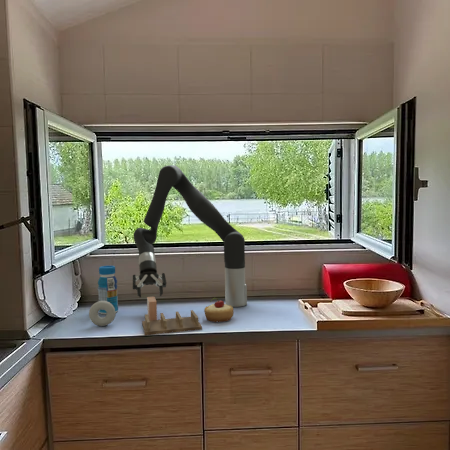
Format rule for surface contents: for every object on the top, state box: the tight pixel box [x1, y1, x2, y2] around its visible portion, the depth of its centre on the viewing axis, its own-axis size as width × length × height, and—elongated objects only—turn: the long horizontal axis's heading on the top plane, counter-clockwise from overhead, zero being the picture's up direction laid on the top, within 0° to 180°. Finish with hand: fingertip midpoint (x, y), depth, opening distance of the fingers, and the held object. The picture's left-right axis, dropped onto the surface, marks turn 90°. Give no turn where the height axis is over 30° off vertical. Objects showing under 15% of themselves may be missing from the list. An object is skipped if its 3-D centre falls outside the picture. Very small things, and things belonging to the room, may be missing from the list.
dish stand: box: [141, 309, 203, 336], centre depth 157 cm, size 21×14×4 cm, turn 105°
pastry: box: [203, 297, 234, 323], centre depth 165 cm, size 12×12×9 cm
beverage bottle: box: [97, 265, 119, 315], centre depth 179 cm, size 8×8×20 cm
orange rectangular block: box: [146, 296, 158, 320], centre depth 169 cm, size 3×9×8 cm, turn 15°
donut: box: [88, 300, 117, 327], centre depth 159 cm, size 10×3×10 cm, turn 99°
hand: (150, 295), depth 173 cm, fingers open, 8 cm apart
